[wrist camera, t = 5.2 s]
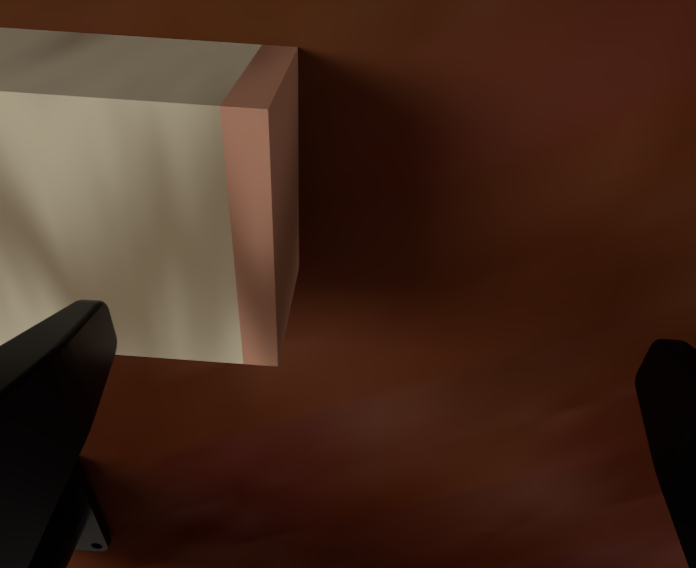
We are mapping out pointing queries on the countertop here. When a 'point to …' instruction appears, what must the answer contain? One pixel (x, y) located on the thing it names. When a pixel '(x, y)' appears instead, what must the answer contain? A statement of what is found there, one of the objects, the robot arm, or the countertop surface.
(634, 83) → the countertop surface
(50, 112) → the birch block
